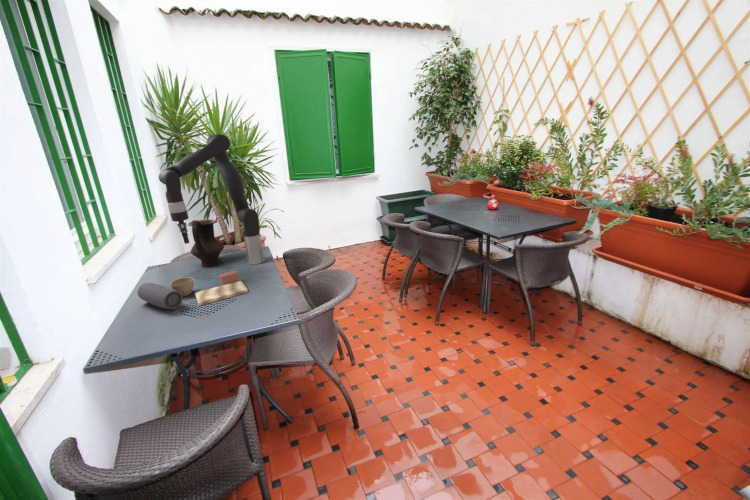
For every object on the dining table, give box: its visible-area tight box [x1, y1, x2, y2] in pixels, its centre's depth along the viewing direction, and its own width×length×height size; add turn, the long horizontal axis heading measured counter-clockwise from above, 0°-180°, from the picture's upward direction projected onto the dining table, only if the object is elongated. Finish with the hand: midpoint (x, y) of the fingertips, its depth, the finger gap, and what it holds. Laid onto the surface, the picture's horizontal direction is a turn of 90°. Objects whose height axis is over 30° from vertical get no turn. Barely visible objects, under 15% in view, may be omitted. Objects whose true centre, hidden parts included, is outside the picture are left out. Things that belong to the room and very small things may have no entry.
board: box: [194, 280, 249, 306], centre depth 167 cm, size 22×14×2 cm, turn 123°
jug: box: [187, 219, 225, 267], centre depth 204 cm, size 21×18×30 cm
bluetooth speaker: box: [137, 282, 184, 310], centre depth 157 cm, size 23×9×10 cm, turn 59°
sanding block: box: [219, 270, 240, 286], centre depth 177 cm, size 8×4×6 cm, turn 123°
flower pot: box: [170, 276, 195, 297], centre depth 168 cm, size 10×10×7 cm
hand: (186, 241), depth 176 cm, fingers open, 8 cm apart
